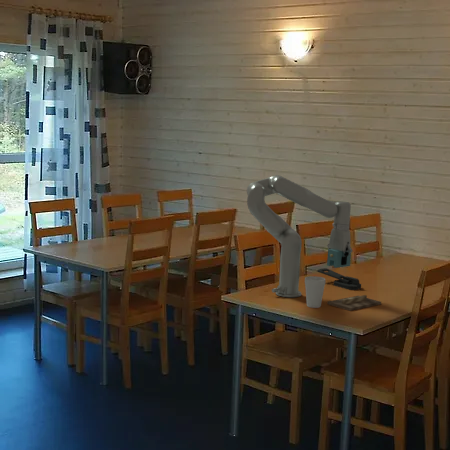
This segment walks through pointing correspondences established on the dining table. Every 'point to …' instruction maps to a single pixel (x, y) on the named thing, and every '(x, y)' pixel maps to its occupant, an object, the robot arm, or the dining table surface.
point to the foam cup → (314, 290)
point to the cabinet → (336, 258)
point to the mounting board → (354, 303)
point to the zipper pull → (342, 280)
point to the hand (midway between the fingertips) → (338, 263)
